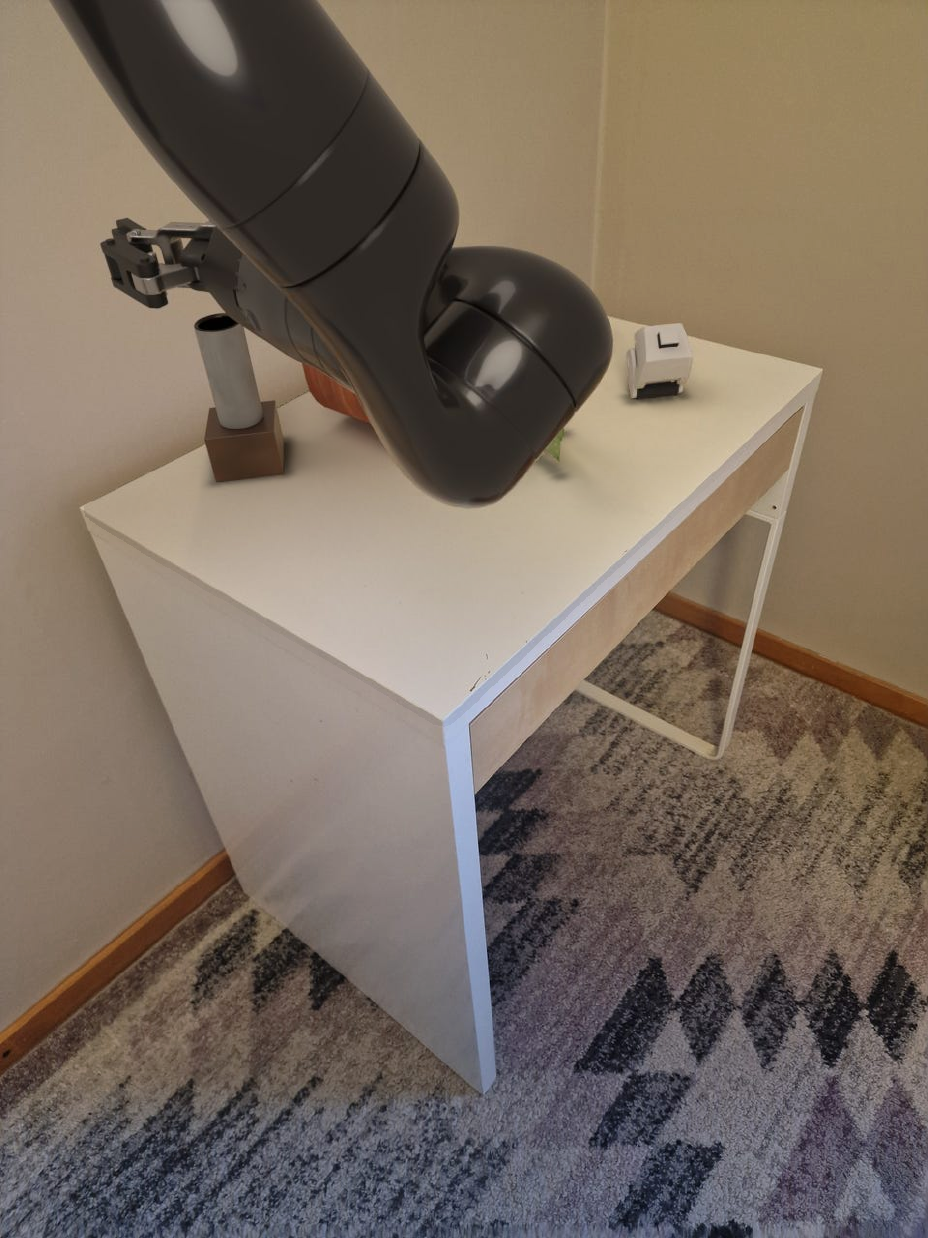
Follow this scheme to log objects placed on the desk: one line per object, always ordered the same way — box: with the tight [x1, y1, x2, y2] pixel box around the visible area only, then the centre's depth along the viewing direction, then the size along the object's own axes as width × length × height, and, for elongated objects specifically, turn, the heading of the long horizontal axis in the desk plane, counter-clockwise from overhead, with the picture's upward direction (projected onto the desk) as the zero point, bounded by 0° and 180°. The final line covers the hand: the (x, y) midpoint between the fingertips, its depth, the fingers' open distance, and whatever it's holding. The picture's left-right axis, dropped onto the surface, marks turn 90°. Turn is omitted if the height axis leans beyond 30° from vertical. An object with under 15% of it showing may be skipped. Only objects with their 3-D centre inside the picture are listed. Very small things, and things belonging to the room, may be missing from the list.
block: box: [203, 399, 285, 483], centre depth 90 cm, size 7×7×5 cm
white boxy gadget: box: [625, 322, 695, 400], centre depth 96 cm, size 6×7×10 cm
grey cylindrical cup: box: [193, 312, 263, 429], centre depth 85 cm, size 4×4×10 cm
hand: (187, 220), depth 56 cm, fingers open, 8 cm apart
